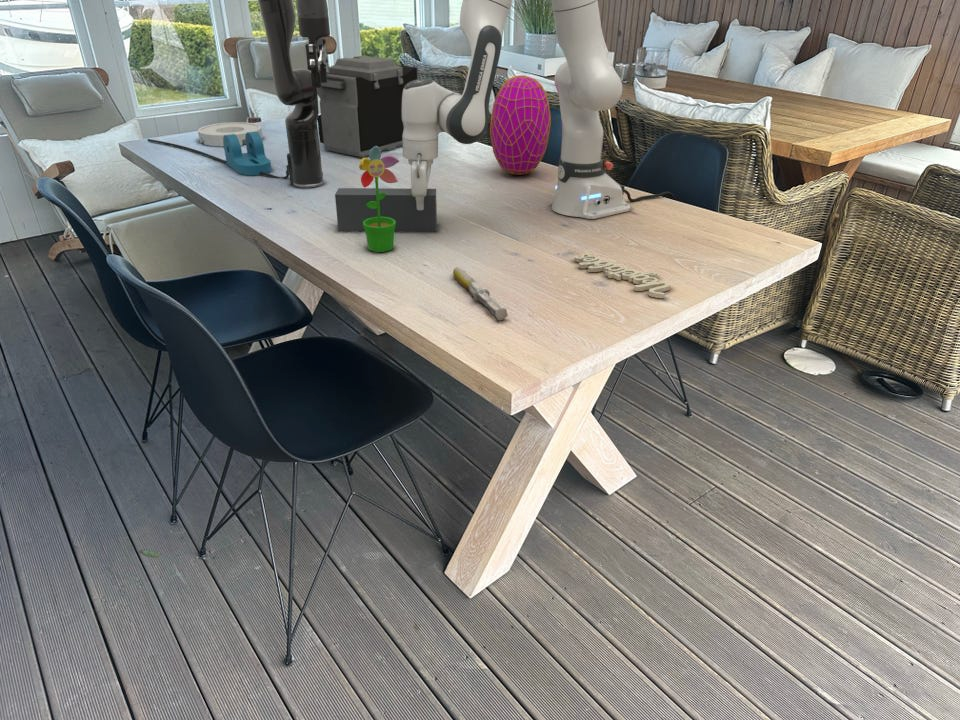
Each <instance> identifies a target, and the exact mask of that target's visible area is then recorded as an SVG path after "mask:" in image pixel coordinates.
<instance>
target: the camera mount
mask: <svg viewBox="0 0 960 720" xmlns="http://www.w3.org/2000/svg"><path fill="white" fill-rule="evenodd" d="M245 139H246V144H245V146H246V152H243V151H242V150H243V149H242V145H240V142H239V140H238V138H237V136H236V135H235V134H230V135H224V137H223V144H224V146H223V149H224V150H223V151H224V156H225V161H226V162H227V164H226V165H227V166H228V167H230V168H231V169H232V170H234V171H236V172H237V173H238V174H239V175H244V176H260V174H259V173H260V172H263V173H268V174H270V173H271V172H272V164H271V159H270V158H268V157H267V156H266V153H265V145H264V141H263V138H261V136H260V134H259V133H258V132H257V131H255V132H247V133H246V137H245Z"/></svg>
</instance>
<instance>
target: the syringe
mask: <svg viewBox="0 0 960 720" xmlns="http://www.w3.org/2000/svg"><path fill="white" fill-rule="evenodd" d="M452 274H453V277H454V279H455V280H457V281H458V282H459V283H460V285H462V287H464V289H466V290H467V291H468V293H470V295H471V296H472V298H473V300H474V302H477V303H478V302H480V303H482V304H483V305H484V306H485V307H486V308H487V309H488V310H489V311H490V312H491V313H492V314H493V315H494V316H495V317H496V320H497V321H503V320H504V319H506V318H507V317H509V314H508V310H507V308H506V307H502V306H501V305H500V303H498V302H497V301H496V300H494V299H493V298H492V297H491V296H490V295H491V293H490V290H488V289H486V288H483V287H482V286H481V285H480V284H479V283H478V282H477V281H476V280H474V278H473V277H471V275H469V274H468V273H467V272H466V270H465V269H464V268H463V267H462V266H456V267H454V268H453V271H452Z"/></svg>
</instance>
